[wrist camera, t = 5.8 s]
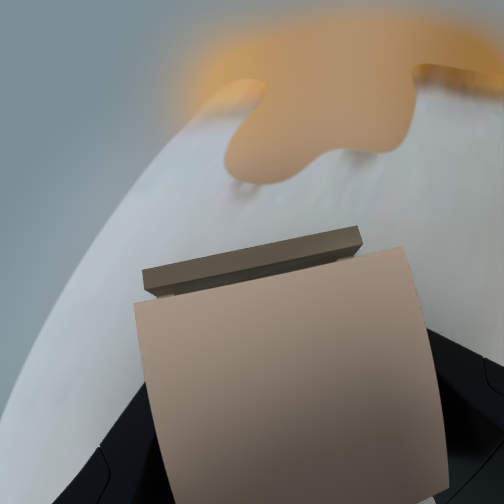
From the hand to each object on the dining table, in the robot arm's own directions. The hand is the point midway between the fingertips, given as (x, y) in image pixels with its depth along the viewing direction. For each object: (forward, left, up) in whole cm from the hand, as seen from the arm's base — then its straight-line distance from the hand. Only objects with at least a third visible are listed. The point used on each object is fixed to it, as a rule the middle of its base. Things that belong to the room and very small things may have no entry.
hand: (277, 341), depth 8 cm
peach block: (-1, +1, -7) cm, 7 cm away
